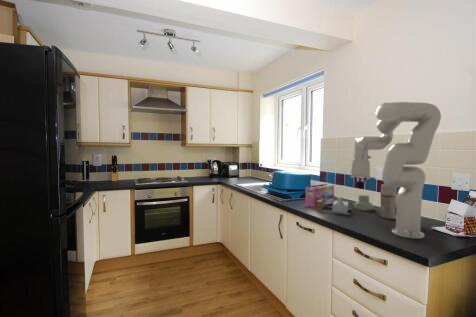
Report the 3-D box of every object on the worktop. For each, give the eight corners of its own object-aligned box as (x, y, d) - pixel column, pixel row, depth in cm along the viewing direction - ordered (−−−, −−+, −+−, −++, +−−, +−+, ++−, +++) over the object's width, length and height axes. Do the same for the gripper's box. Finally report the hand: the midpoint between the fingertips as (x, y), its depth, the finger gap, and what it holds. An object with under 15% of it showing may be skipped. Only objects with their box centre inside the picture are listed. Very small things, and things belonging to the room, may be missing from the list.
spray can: (392, 220, 141) (393, 184, 140) (377, 216, 147) (378, 182, 147) (399, 218, 145) (400, 183, 144) (384, 214, 152) (385, 181, 151)
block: (346, 214, 149) (346, 205, 149) (332, 212, 153) (332, 204, 152) (348, 209, 160) (348, 201, 159) (334, 208, 163) (334, 200, 163)
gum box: (325, 202, 187) (326, 183, 186) (335, 204, 180) (336, 185, 180) (304, 206, 172) (305, 186, 172) (314, 208, 166) (314, 188, 166)
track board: (350, 216, 147) (350, 213, 147) (316, 212, 155) (316, 209, 155) (351, 211, 160) (351, 208, 160) (320, 207, 169) (320, 204, 169)
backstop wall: (320, 211, 154) (320, 201, 154) (316, 211, 155) (316, 201, 155) (324, 206, 168) (324, 197, 167) (320, 206, 169) (320, 197, 168)
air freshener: (375, 211, 160) (375, 195, 160) (369, 213, 155) (369, 197, 155) (358, 208, 169) (358, 193, 168) (351, 210, 164) (352, 194, 163)
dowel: (342, 213, 151) (342, 198, 151) (336, 212, 153) (337, 197, 152) (343, 212, 154) (343, 197, 153) (337, 211, 155) (338, 196, 155)
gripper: (374, 158, 153) (373, 188, 154) (347, 157, 160) (346, 186, 161) (375, 158, 146) (373, 190, 147) (347, 157, 153) (346, 187, 154)
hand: (359, 188), depth 154 cm, fingers closed
